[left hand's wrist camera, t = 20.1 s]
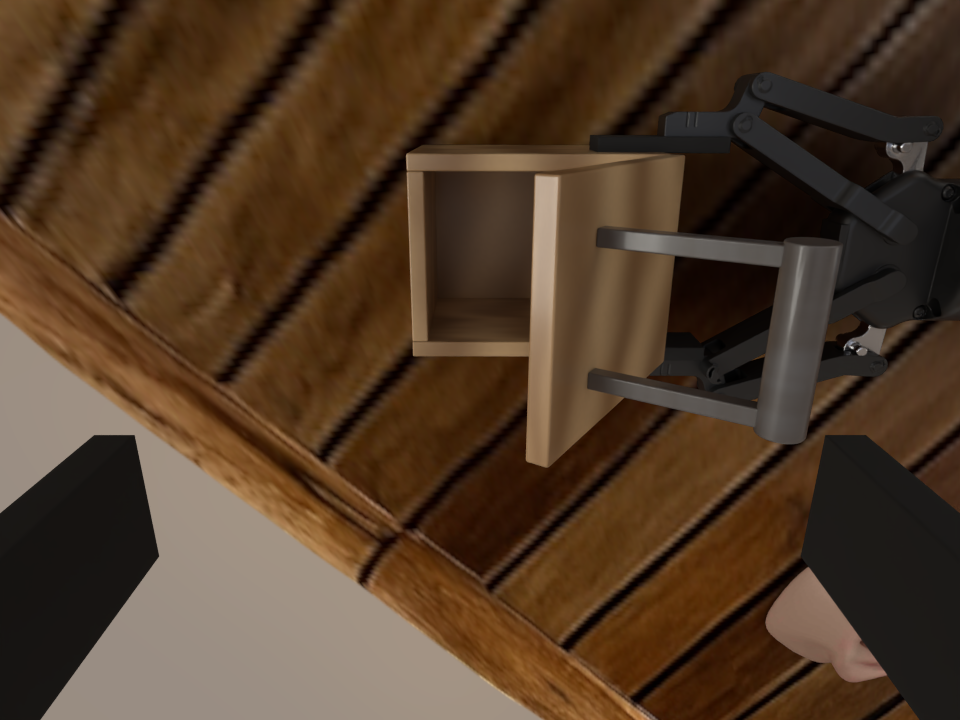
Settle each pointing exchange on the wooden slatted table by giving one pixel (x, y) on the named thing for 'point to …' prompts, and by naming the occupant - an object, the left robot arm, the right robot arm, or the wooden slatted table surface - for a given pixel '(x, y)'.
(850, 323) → the wooden slatted table surface
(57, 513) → the left robot arm
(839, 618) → the anatomical model
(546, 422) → the lid
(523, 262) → the chest
